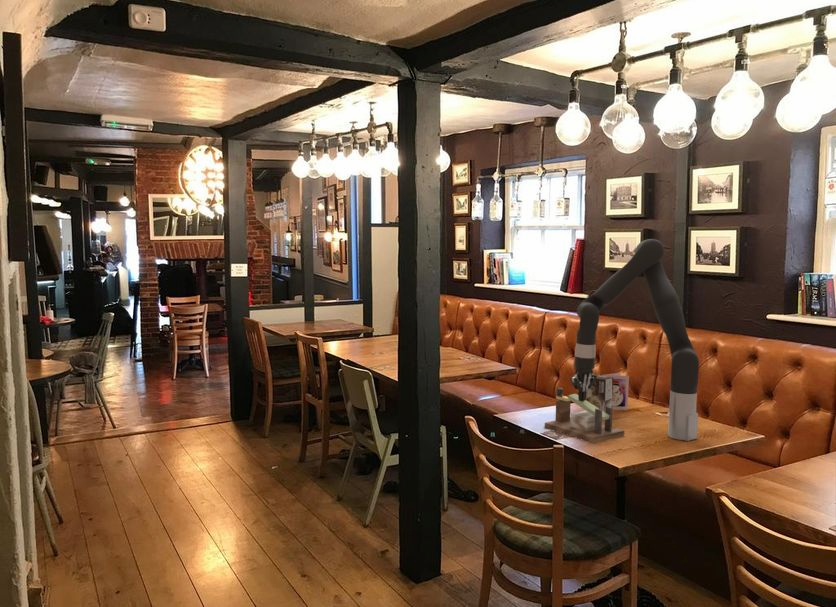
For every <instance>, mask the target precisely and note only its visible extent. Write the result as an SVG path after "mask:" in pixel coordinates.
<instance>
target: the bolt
mask: <svg viewBox="0 0 836 607" xmlns="http://www.w3.org/2000/svg"><path fill="white" fill-rule="evenodd" d="M555 399H556V400H562V401H571V400H569V399H568V396H566V395H564V388H563V387H557V388H556V396H555Z"/></svg>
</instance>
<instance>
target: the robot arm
mask: <svg viewBox="0 0 836 607" xmlns="http://www.w3.org/2000/svg"><path fill="white" fill-rule="evenodd" d="M664 255H665V246H664V244H663V243H662V242H661V241H660V240H658V239H656V238H655V239H654V238H650V239H649V238H648V239H645V240H643V241H640V242H639V243H637V246H636V247H635V251H634V254H633V256H632V257H631V258H630V259H629V260H628V261H627V263H626V264H625V265H624V266H622V267H621V268H620V269H618V270H617V271H616V272H615V273H614V274H613V275H612V276H610V277H609V278H608V279H607V280H605V281H604V282H603V284H601V286H599V287H598V288H597V290H596V291H595V292H593V293H592V294H591V295H589V296H587V298H585V299H584V300H583V301H582V302H581V303H580V304H579V305H578V306H577V309H576V314H577V316H578V317H579V327H578V328H577V333H576V344H575V348H574V364H573V367H574V369H575V371H574V375H573V376H571V377H570V378H569V380H570V382H571V384H572V386H573V387H574V389H575V390H578V394H577V395H578V398H579V400H581V401H585V400H586V401H587V390H588V389H591V387H592V385H593V383H594V381H595V380H596V378H597V376H596V375H597V374H594V371H593V370H594V369H595V367H596V366H595V365H596V353H597V352H596V351H597V350H596V349H597V346H596V343H597V340H596V339H597V330H598V326H599V320H600V311H601V310H602V309H603V308H605V307H606V306H609V305H611V303H613V302H614V301H615V300H616V299H617V298H618V297H619V296H620V295H621V294H622V293H623V292H624V291H625V290H626V289H627V288H628V287H629V285H630V284H632V283H633V282H634V281H635V280H636V279H637V277H639V276H640V275H642V273H643V276H644V278H645V281H646V284H647V289H648V293H649V296H650V300H651V304H652V306H653V309H654V313H655V316H656V318H657V321H658V322H659V325H660V327H661V329H662V331H663V332H664V334H665V337H666V339H667V342H668V346H669V352H670V356H671V367H670V368H671V370H670V383H669V385H670V386H669V387H670V388H669V389H670V390H669V406H668V407H669V409H668V411H669V412H668V430H667V433H668V434H667V436H668V437H669V438H671V439H675V440H677V441H678V440H679V441H686V442H689V441H693V440H696V439H698V432H699V431H698V429H699V413H698V412H697V398H698V387H699V373H700V372H699V371H700V360H699V356H698V354H697V352H696V351H695V348H694V346H693V344H692V342H691V340H690V338H689V335H688V332H687V328H686V320H685V316H684V312H683V307H682V306H681V302H680V299H679V296H678V294H677V292H676V290H675V287H674V286H673V284H672V283H671V282H670V279H669V278H668V276H667V274H666V272H665V269H664V265H663V261H662V259H663V257H664Z"/></svg>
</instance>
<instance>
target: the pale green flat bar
mask: <svg viewBox="0 0 836 607" xmlns="http://www.w3.org/2000/svg"><path fill="white" fill-rule="evenodd" d="M578 395H579V394H577V393H573V394H569V395H567V397H568V399H569V400H570V401H571V402H572V403H574V404H575V405H577V406H579V407H580V408H582V409H583V410H584V411H588V412H589V413H591V414H592V415H594V416H595V409H599V408H597V407H596V406H594V405H593V404H591V403H589V402H588V401H587V399H586V400H585V401H581V400H579V398H578ZM609 416H610V415H608V414H607V413H605V412H603V411H602V421H605V420H607V419H609Z"/></svg>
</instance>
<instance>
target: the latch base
mask: <svg viewBox="0 0 836 607" xmlns="http://www.w3.org/2000/svg"><path fill="white" fill-rule="evenodd" d="M571 402H572V401H571V400H570V401H562V400H559V399H557V400H555V420H550V421H547V422H544V429H547V430H551V431H553V430H554V431H553V432H556V431H558V432H557V433H559V432H561V433H560V434H563V433H565V434H564V435H566V434H568V435H567V436H569V435H571V436H570V437H572V436H574V437H573V438H575V437H577V438H576V439H578V438H579V440H581V439H582V440H583V441H585V442H588V443H591V444H598V443H601V442H606V441H610V440H613V439H617V438H621V437H624V436H625V430H624V429H620V428H616V427H613V410H612V407H608V406H607V407H605V413H607V414H608V415H610V416H609V419H607V420H604V424H603V420H602V410H601V409H595V416H594V415H592V414H591V413H589V412H588V411H586V410H581V411H576V412H573V413H571V407H572V406H571Z"/></svg>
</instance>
